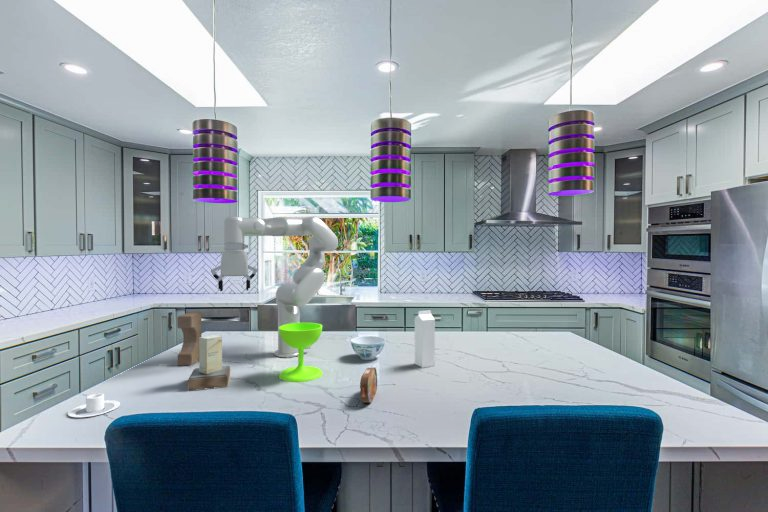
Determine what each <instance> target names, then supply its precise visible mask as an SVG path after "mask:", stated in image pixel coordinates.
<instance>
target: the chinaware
mask: <svg viewBox="0 0 768 512" xmlns="http://www.w3.org/2000/svg"><path fill="white" fill-rule="evenodd" d="M350 344H351V347H352V350H353V351H354V352H355V354H357V355H358V356H359V357H360V358H359V359H361V360H365V361H371V360H375V359H376V357H377V356H378V355H379V354H380V353H381V352H382V351H383V350H384V347H385V345H386V339H385V338H384V337H380V336H373V335H369V336H367V335H365V336H363V335H362V336H357V337H354V338H351V340H350Z"/></svg>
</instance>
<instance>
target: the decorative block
mask: <svg viewBox="0 0 768 512" xmlns="http://www.w3.org/2000/svg"><path fill="white" fill-rule="evenodd" d="M176 322H177V323H176V324H177V329H180V330H181V331H182V336H183V338H182V340H183V342H182V347H181V349H180V351H179V352H178V354H177V366H178V367H182V366H183V367H185V365H191V366H192V364H193V365H194V364H195V363H197V362H198V361H199V338H200V337H202V312H201V311H190V312H189V311H188V312H186V313H184V314H181V315H177V321H176ZM196 361H197V362H196Z"/></svg>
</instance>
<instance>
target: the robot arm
mask: <svg viewBox="0 0 768 512" xmlns="http://www.w3.org/2000/svg"><path fill="white" fill-rule="evenodd" d="M223 219H224V220H223V231H224V232H223V234H224V235H223V241H224V242H223V251H222V252H221V258H220V265H218V266H216V267H215V268H212V269H210V272H211V274H212V276H213V278H215V279H216V280H217V282H218V290H219V291H220V292H223V290H224V281H223V278H224V277H245V278H246V281H245V282H246V283H245V284H246V285H245V286H246V287H245V290H246V291H249V289H251V280H252V279H253V278H254V277H255V275H256V274H257V272H258V269H257V268H255V267H253V266H251V265H249V260H248V251H246V249H249V245H248V244H246V243H245V237H258V236H259V237H264V236H265V237H266V236H267V237H268V236H269V237H301V236H302V237H303V236H305V237H306V236H310V237H309V239H308V250H309V252H308V253H309V254H308V257H307V258H306V259H305V260H304V262H303V263H302V264H300V266H299V267H298V268H297V270H296V271H294V273H293V277H292V281H293V282H294V283H289V282H286V283H283V284H281V285H279V286H278V288H277V289H276V292H275V301H276V306H277V349H276V350H275V351H274V356H276V357H278V358H294V357H298V349H297V348H293V347H290V346H289V345H287V344H286V343H285V342H284V341H283V340H282V338H281V336H280V334H279V327H280V326H282V325H285V324H291V323H301V321H300V320H301V313H300V308H299V307H303V306H306V305H308V304H309V302H310V301H311V300H312V299H313V298H314V297H315V295H316V294H317V293H318V291H320V289H321V288H322V286H323V285H324V282H325V280H326V278H325V273H324V270H323V268H324V267H325V263H326V257H325V256H326V255H325V252H333V251H335V250H336V249H338V246H339V239H338V236H337V235H336V234H335V233H334V231H332V230H331V228H330V227H329V226H328V225H327V224H326V223H325V222H324V221H323V220H322V219H320V218H319V217H318V216H314V215H313V216H306V217H305V216H304V217H302V216H301V217H300V216H299V217H298V216H295V217H294V216H277V217H276V216H275V217H269V218H260V217H256V216H253V217H241V216H234V215H233V216H225V218H223ZM219 270H220V276H219V275H218V274H217V273H216V272H217V271H219ZM249 270H251V271H252V273H251V274H250V275H249ZM310 349H311V346H309V347H307V348H304V350H310Z"/></svg>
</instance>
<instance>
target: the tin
mask: <svg viewBox="0 0 768 512" xmlns="http://www.w3.org/2000/svg"><path fill="white" fill-rule="evenodd" d="M377 372H378V371H377V369H376V367H367V368H366V369H365V370H364V372H363V374H362V375H361V378H360V382H359V390H360V401H361V402H362V403H363V404H364V403H365V404H367V403H368V404H371V403H372V402H373V400H374V398H375V396H376V394H377V389H378V373H377Z"/></svg>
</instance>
